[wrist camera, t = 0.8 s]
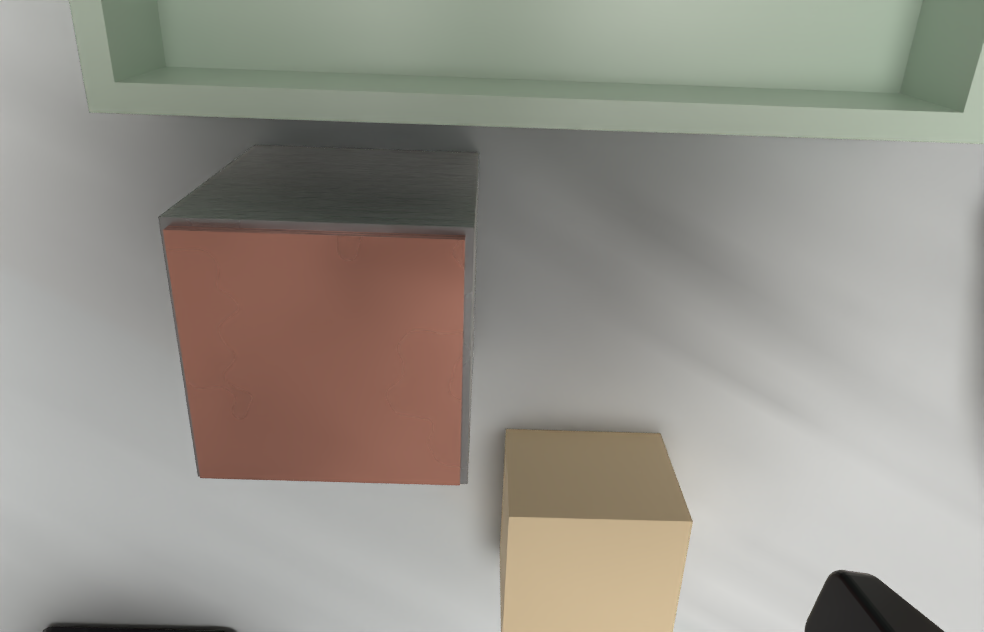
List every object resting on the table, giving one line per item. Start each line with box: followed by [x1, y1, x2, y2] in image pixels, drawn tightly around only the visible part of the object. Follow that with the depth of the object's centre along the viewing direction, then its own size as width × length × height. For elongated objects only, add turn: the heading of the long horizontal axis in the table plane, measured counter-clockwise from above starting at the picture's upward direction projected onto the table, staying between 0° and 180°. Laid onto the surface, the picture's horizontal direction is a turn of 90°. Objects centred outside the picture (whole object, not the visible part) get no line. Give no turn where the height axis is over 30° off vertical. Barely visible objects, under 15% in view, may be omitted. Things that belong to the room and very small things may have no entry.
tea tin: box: [158, 145, 479, 485], centre depth 17 cm, size 6×6×6 cm
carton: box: [500, 429, 693, 632], centre depth 21 cm, size 4×4×4 cm
